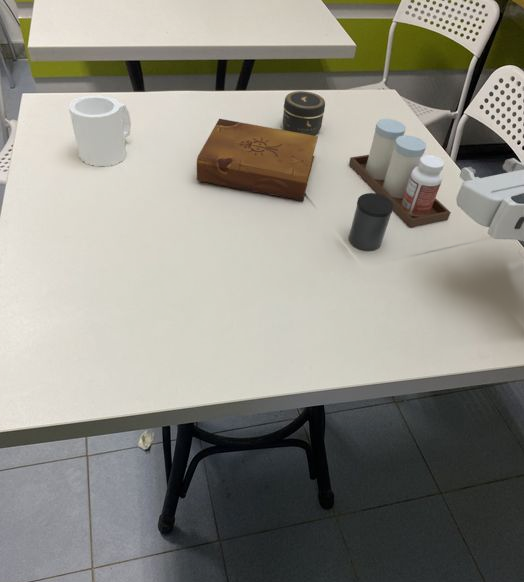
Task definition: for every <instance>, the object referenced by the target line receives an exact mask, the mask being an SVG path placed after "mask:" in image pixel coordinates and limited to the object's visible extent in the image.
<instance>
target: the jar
mask: <svg viewBox="0 0 524 582" xmlns="http://www.w3.org/2000/svg"><path fill="white" fill-rule="evenodd" d="M325 108H326V100H325V98H323V97H322V95H321V96H320V95H319V94H317V93H314V92H310V91H305V90H297V91H292V92H290V93H288V94H287V95H286V96H285V97H284V104H283V114H282V127H283V130H285V131H291V132H296V133H302V134H307V135H313V136H317V135H318V134H319V133H320V131H321V129H322V126H323V120H324V114H325V110H326V109H325Z"/></svg>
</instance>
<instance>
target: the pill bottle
mask: <svg viewBox="0 0 524 582" xmlns="http://www.w3.org/2000/svg"><path fill="white" fill-rule="evenodd" d="M444 166H445V161H444V160H443V159H442V158H440V157H438V156H436V155H431V154H425V155H423V156H422V157H421V158H420V161H419V164H418V166H417V167H415V168H414V169H413V171H412V173H411V176H410V179H409V182H408V185H407V188H406V191H405V194H404V197H403V200H402V204H401V207H402V208H403V209H404V210H405V211H406V212H407V213H408V214H409V215H410V216H413V217H422V216H427V215H428V214H429V213H430V211H431V208H432V205H433V203H434V200H435V198H436V197H437V194H438V192H439V189H440V187H441V184H442V182H443V174H442V171H443V169H444ZM436 199H437V198H436Z"/></svg>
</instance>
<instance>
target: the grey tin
mask: <svg viewBox="0 0 524 582" xmlns="http://www.w3.org/2000/svg"><path fill="white" fill-rule="evenodd" d="M393 208H394V205H393V202H392V201H391V200H390V199H389V198H387V197H385V196H383V195H380V194H376V193H375V192H368V193H367V192H366V193H364V194H361V195H360V196H358V198H357V202H356V207H355V211H354V215H353V219H352V223H351V227H350V230H349V234H348V242H349V244H350V245H351V246H352V247H353V248H355V249H357V250H359V251H362V252H374V251H377V250H379V249H380V248H381V246H382V244H383V243H382V242H383V240H384V237H385V233H386V231H387V227H388V224H389V223H390V222H389V221H390V219H391V215H392V213H393V212H394V211H393Z"/></svg>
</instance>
